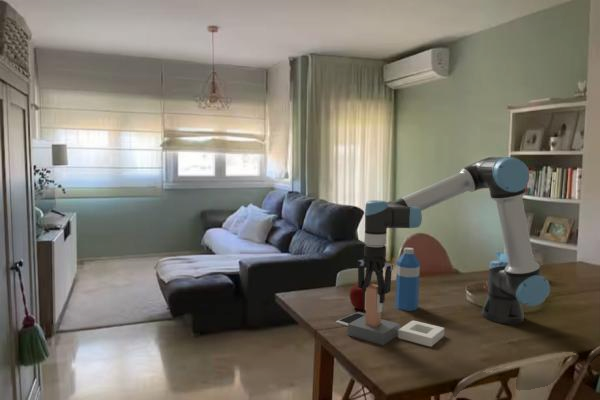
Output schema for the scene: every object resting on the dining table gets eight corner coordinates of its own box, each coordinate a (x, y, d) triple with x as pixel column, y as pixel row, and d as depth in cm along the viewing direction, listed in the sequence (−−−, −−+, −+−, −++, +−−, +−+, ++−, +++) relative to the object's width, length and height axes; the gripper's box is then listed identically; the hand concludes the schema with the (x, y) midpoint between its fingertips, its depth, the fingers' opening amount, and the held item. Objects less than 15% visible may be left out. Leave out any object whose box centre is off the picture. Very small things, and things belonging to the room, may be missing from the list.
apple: (344, 308, 194) (345, 284, 193) (358, 303, 201) (358, 280, 200) (363, 313, 188) (364, 289, 187) (376, 308, 195) (377, 284, 194)
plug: (380, 325, 167) (381, 285, 165) (375, 328, 163) (376, 288, 162) (370, 323, 169) (371, 283, 168) (365, 326, 166) (366, 286, 164)
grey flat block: (399, 334, 167) (399, 323, 166) (383, 345, 157) (383, 333, 157) (364, 325, 175) (365, 315, 175) (347, 334, 166) (348, 324, 165)
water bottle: (418, 311, 192) (421, 251, 189) (395, 309, 194) (397, 250, 191) (417, 304, 201) (419, 247, 198) (395, 302, 203) (397, 245, 200)
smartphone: (373, 318, 185) (373, 315, 185) (350, 328, 173) (350, 325, 173) (358, 313, 189) (358, 311, 189) (335, 323, 178) (335, 321, 178)
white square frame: (444, 336, 166) (444, 327, 166) (430, 346, 157) (431, 338, 156) (412, 328, 173) (412, 320, 173) (397, 337, 164) (398, 329, 164)
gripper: (402, 246, 161) (400, 312, 164) (359, 240, 172) (357, 302, 174) (392, 249, 155) (390, 318, 158) (348, 243, 166) (347, 307, 168)
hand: (373, 310), depth 166 cm, fingers closed on plug, 4 cm apart
